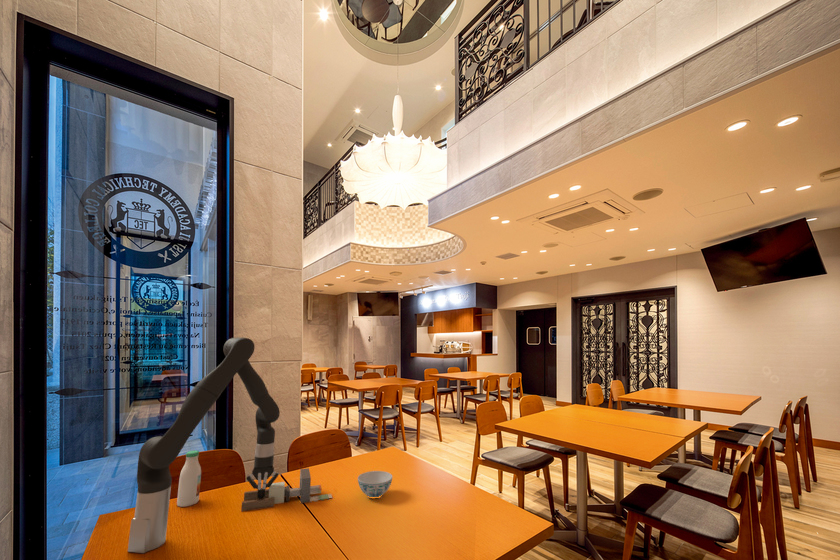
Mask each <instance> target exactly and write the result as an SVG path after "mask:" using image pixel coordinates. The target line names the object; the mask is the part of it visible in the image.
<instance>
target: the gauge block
mask: <svg viewBox="0 0 840 560" xmlns="http://www.w3.org/2000/svg"><path fill="white" fill-rule="evenodd" d="M285 485H286V484H285V481H281V482H280V481H279V482H273V483H272V484H271V486H270V487H268V489H269V498H272V497H275V499H274V505H276V504H284V503H285V498H286V493H287V486H285Z"/></svg>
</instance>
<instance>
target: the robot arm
mask: <svg viewBox="0 0 840 560" xmlns="http://www.w3.org/2000/svg"><path fill="white" fill-rule="evenodd" d="M222 350H223V354H224V356H225V358H224V359H223V360H222V362H220V364H218V366H216V367H215V368H214V369H213V370H211V371H210V372H209V373H208V374H207V375H205V376H204V377H202V378H201V379H200V380H199V381H198V382H197V384H195V385H194V387H193V388H192V389H191V391H190V392H189V393H188V395H187V396H186V398H185V399H184V401H183V402H182V404H181V407H180V410H179V413H178V414H177V416H176V419H175V421H174V422H173V423H172V425H171V427H169V429H168V430H167V431H166V432H165V433H164V435H162V436H161V435H159V436H154V437H150V438H149V439H147V440H146V441H145V442H144V444H143V445H142V446H141V448H140V450H139V454H138V460H137V472H136V483H137V494H136V501H135V510H134V517H133V518H132V519H131V520H130V529H129V537H128V545H127V547H128V548H127V552H129V553H138V554H145V553H147V552H149V551H152V550H155V549H158V548H160V547H162V546H163V545H164V544H165V543H166V538H167V529H168V527H167V526H168V518H169V509H170V499H171V491H172V489H171V488H172V482H173V481H172V480H173V478H172V474H171V471H170V465H171V464H172V463H173V462H175V460H176V459H177V457H178V456H179V454H180V452H181V451H182V450H183V448H184V446H185V444H186V443H187V441H188V440H189V439H190V437H191V435H192V433H193V432H194V430H195V429H196V428H197V427H198V426H199V424H200V423H201V422H202V420H203V418H204V417H205V416H206V415H207V413H208V412H209V411H210V409H212V407H213V406H214V404H215V403H216V402H217V400H218V399H219V397H220V396H221V394H222V393H223V392H224V390H225V389H226V388H227V387H228V385H229V384H230V383H231V381H232V379H233V378H234V377H235V376H236V375H238V376H239V378H240V380H241V381H242V383H243V385H244V387H245V389H246V391H247V394H248V396H249V398H250V400H251V402H252V403H253V405H255V406H257V409H256V412H255V427H256V431H257V435H256V443H255V444H256V445H255V449H254V451H255V452H254V461H253V469H252V471H251V473H250V474H247V476H246V478H245V479H246V480H247V482H248V483H249V485H250V486H251V487H252V488H253V490H254V489H255V490H258V495H257V497H258V498H259V499H263V497H264V496H265V489H268V488H269V487H270V486H271V484H272V483H275V481H276V479H277V478H278V477H279V472H278V471H276V470H275V467H274V461H275V460H274V459H275V437H276V429H275V428H274V427H273V426H272V423H275V422H276V421H278V419H279V417H280V416H281V413H280V407H279V405H278V404H277V402H276V401H275V400H274V398H273V397H272V396H271V395H270V392H269V390H268V388H267V386H266V384H265V382H264V380H263V379H262V377H261V376H260V375H259V374H258V372H257V371H256V370H255V369H254V367H253V366H252V365H251V363H250V361H249V359H251V357H252V356H253V354H254V352H255V342H254V341H253V339H251V338H247V337H231V338H229V339H227V340H226V341H225V343H224V345H223V349H222ZM270 477H271V478H270ZM254 478H255V479H254ZM269 478H270V479H269ZM268 479H269V481H268V482H267V480H268ZM255 480H257V483H256V482H255ZM262 481H263V482H262ZM261 490H262V491H261Z"/></svg>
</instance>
